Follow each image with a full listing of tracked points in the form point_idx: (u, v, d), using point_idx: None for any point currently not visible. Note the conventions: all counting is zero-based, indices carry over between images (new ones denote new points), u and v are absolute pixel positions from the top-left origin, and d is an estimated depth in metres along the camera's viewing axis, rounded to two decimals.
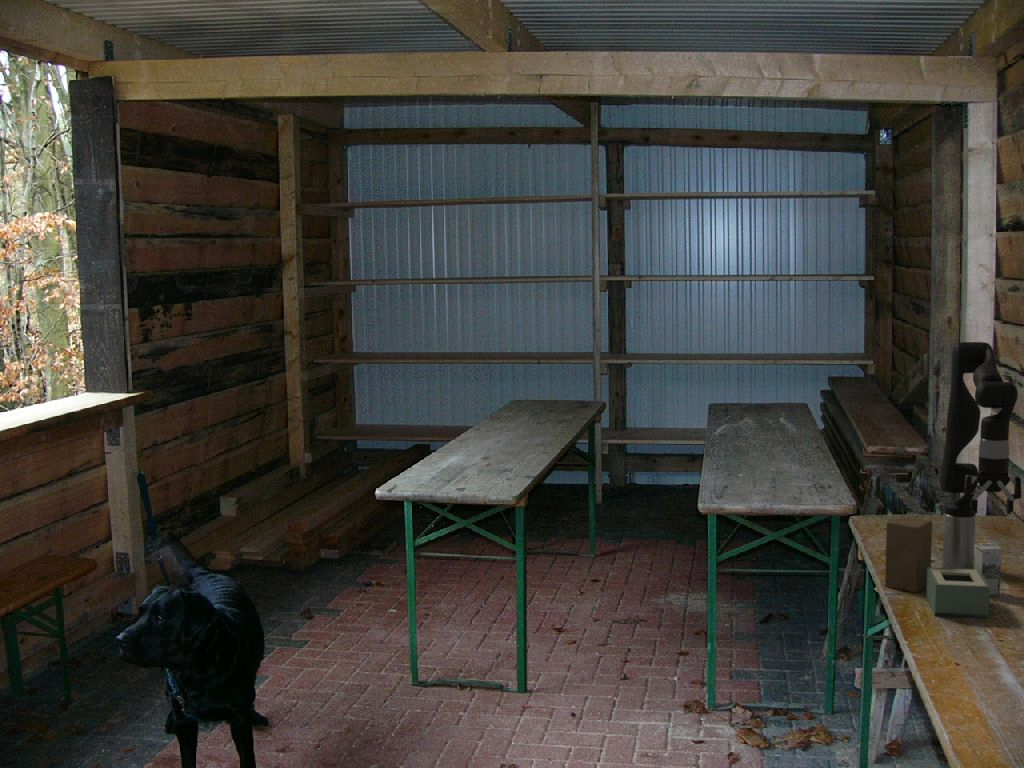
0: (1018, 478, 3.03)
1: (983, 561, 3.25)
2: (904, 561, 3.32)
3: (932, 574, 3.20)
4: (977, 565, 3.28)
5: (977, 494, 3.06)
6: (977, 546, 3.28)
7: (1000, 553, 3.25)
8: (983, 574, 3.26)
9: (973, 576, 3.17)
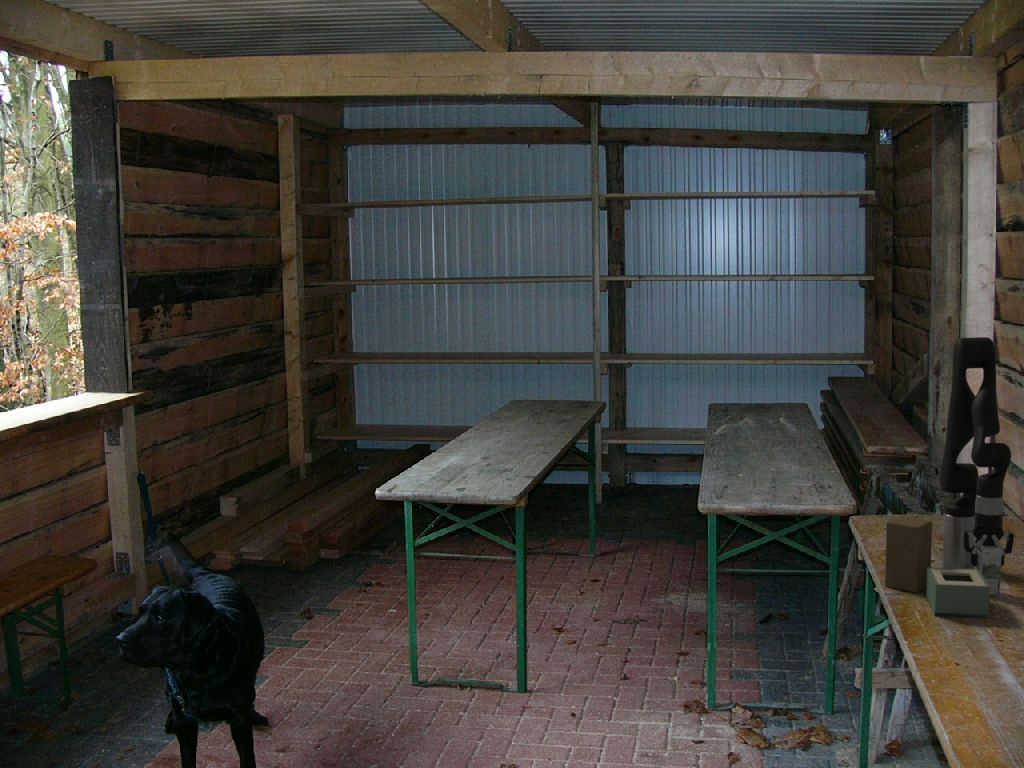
0: (1012, 534, 3.25)
1: (983, 561, 3.25)
2: (904, 561, 3.32)
3: (932, 574, 3.20)
4: (977, 565, 3.28)
5: (975, 548, 3.27)
6: None
7: (1000, 553, 3.25)
8: (983, 574, 3.26)
9: (973, 576, 3.17)
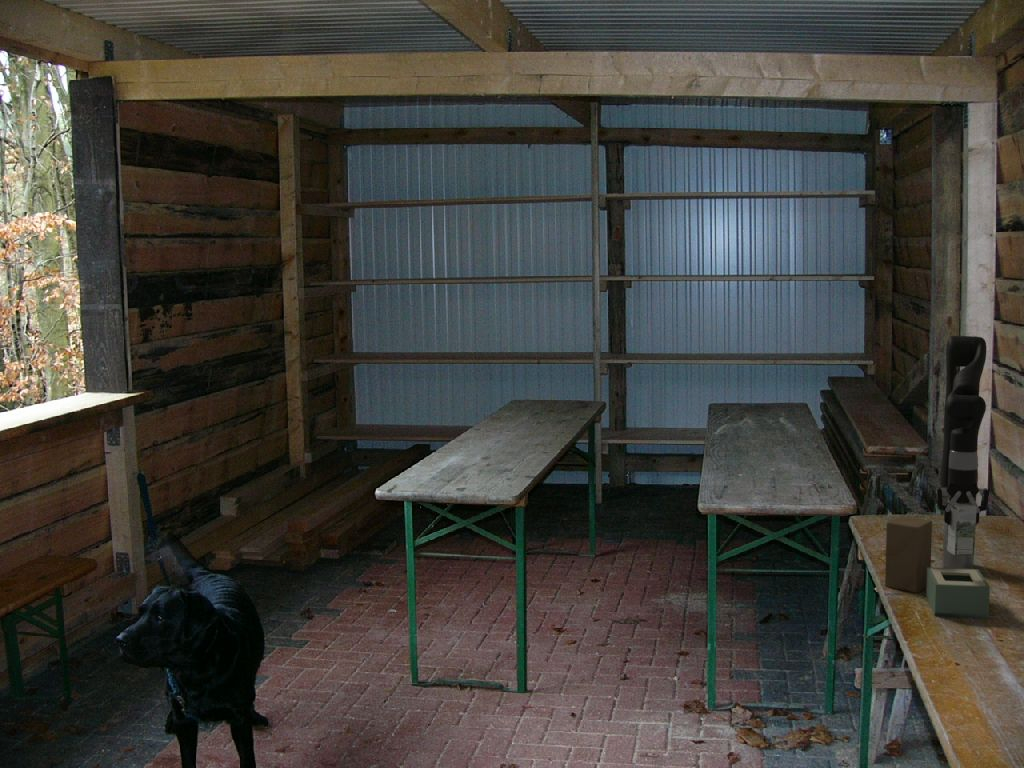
0: (987, 491, 3.11)
1: (957, 519, 3.12)
2: (904, 561, 3.32)
3: (932, 574, 3.20)
4: (951, 523, 3.15)
5: (949, 506, 3.14)
6: None
7: (975, 510, 3.12)
8: (957, 532, 3.12)
9: (973, 576, 3.17)
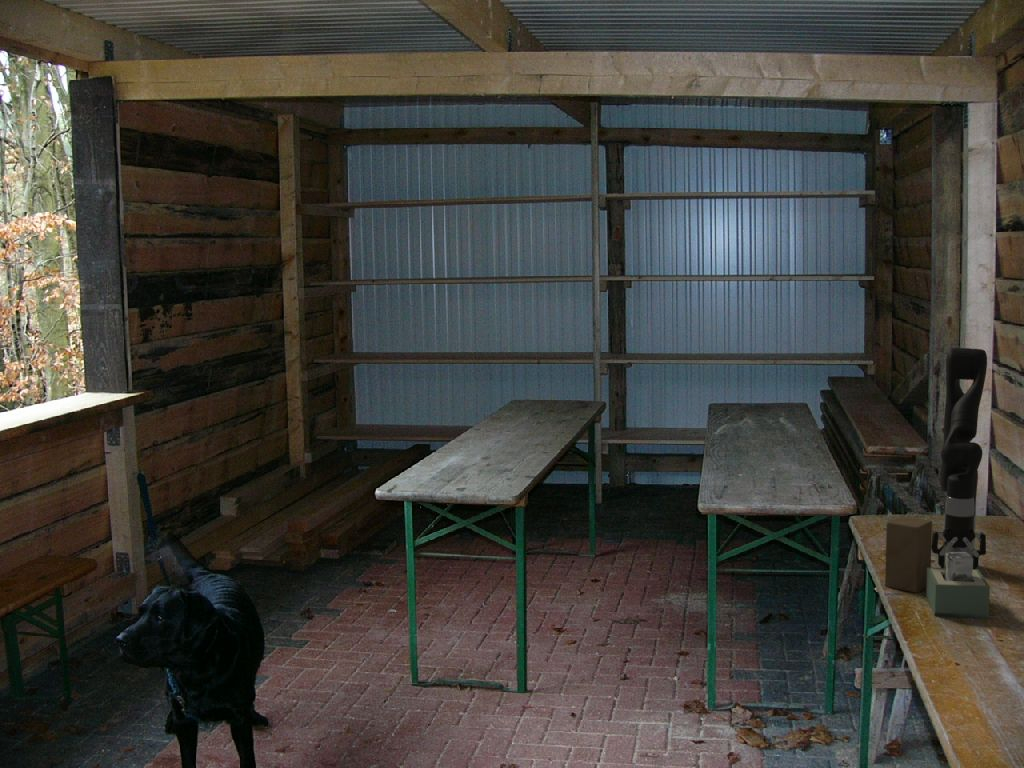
0: (983, 535, 3.13)
1: (953, 571, 3.14)
2: (904, 561, 3.32)
3: (932, 574, 3.20)
4: (948, 575, 3.17)
5: (944, 550, 3.16)
6: (948, 555, 3.17)
7: (971, 563, 3.13)
8: None
9: (973, 576, 3.17)
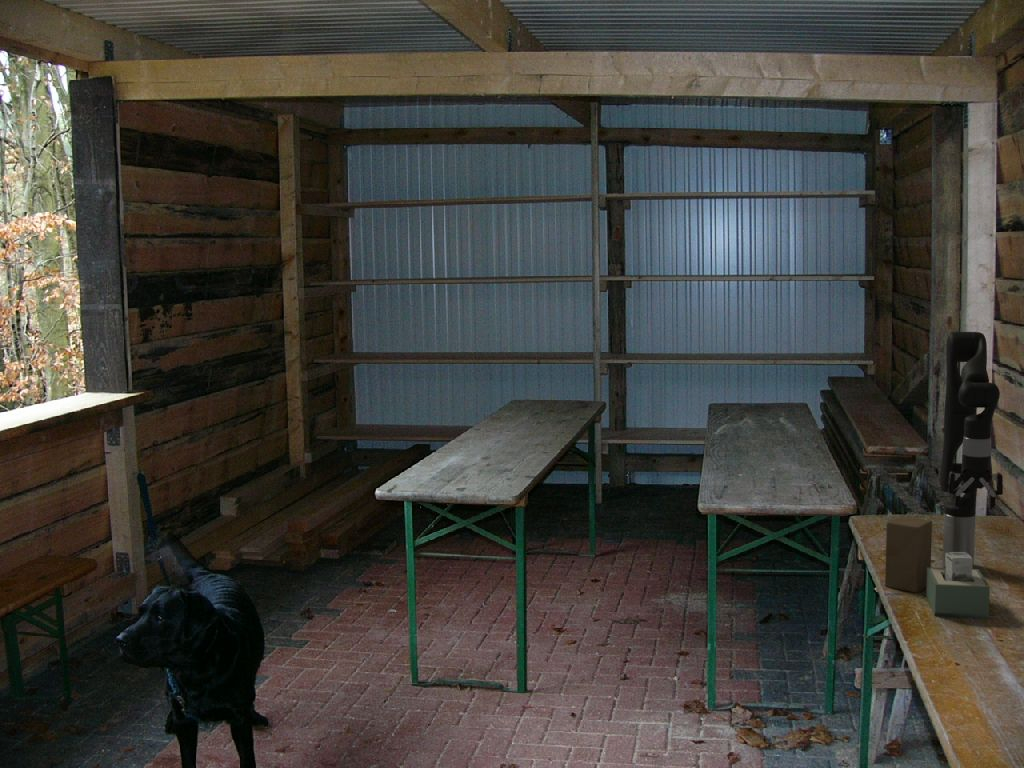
0: (1000, 475, 3.14)
1: (953, 571, 3.14)
2: (904, 561, 3.32)
3: (932, 574, 3.20)
4: (948, 575, 3.17)
5: (960, 490, 3.17)
6: (948, 555, 3.17)
7: (971, 563, 3.14)
8: None
9: (973, 576, 3.17)
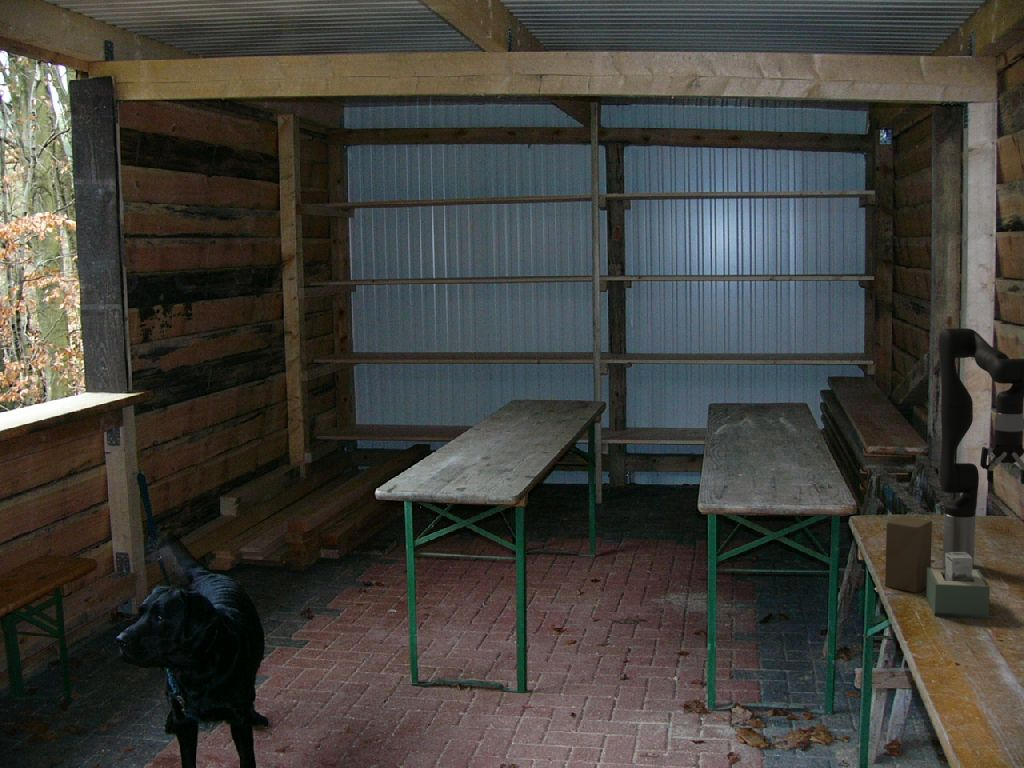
0: None
1: (953, 571, 3.14)
2: (904, 561, 3.32)
3: (932, 574, 3.20)
4: (948, 575, 3.17)
5: (993, 465, 3.23)
6: (948, 555, 3.17)
7: (971, 563, 3.14)
8: None
9: (973, 576, 3.17)
